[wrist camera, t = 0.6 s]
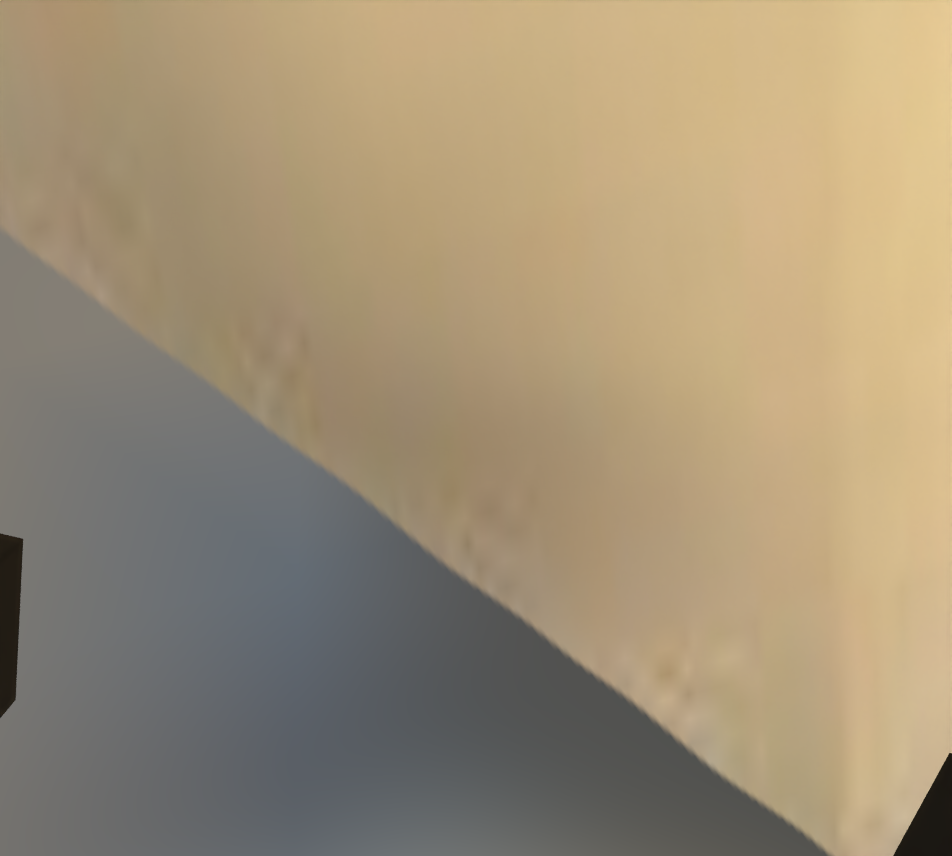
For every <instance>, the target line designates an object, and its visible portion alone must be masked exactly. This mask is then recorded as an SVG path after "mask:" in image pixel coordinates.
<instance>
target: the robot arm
mask: <svg viewBox="0 0 952 856" xmlns="http://www.w3.org/2000/svg"><path fill="white" fill-rule="evenodd" d="M22 551H23V539H21V538H17V537H12V536H8V535H4V534H0V718H1V717H2V715H3V714H4V713H5V712H6V711H7V709H8V708H9V707H10V706H11V705H12V703H13V702H14V701H15V698H16V677H17V676H16V675H17V656H18V635H19V614H20V593H21V572H22V571H21V570H22ZM893 856H952V753H949V755H948V757H947V759H946V761H945V762H944V764H943V766H942V768H941V770H940V772H939V773H938V775H937V777H936V779H935V781H934V782H933V784H932V786H931V788H930V790H929V792H928V793H927V795H926V797H925V799H924V801H923V802H922V804H921V806H920V808H919V810H918V812H917V813H916V815H915V817H914V819H913V821H912V822H911V824H910V826H909V828H908V830H907V832H906V833H905V835H904V837H903V839H902V841H901V843H900V844H899V846H898V848H897V850H896V852H895V853H894V855H893Z"/></svg>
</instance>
